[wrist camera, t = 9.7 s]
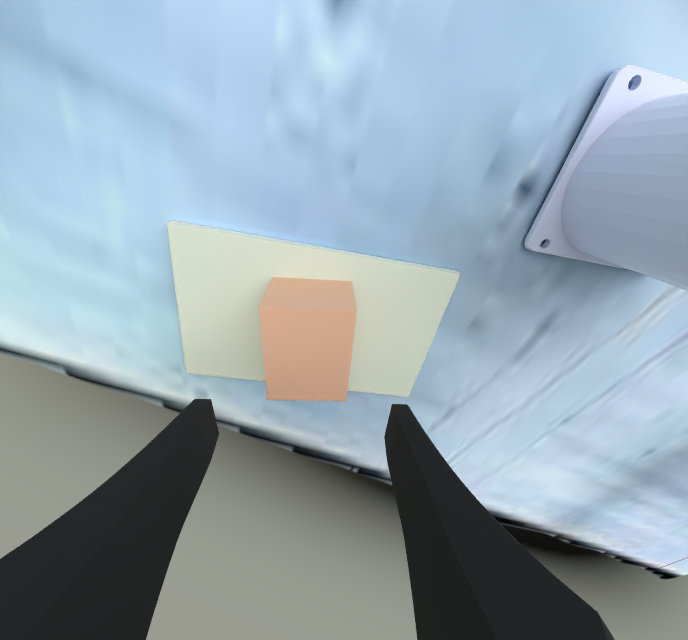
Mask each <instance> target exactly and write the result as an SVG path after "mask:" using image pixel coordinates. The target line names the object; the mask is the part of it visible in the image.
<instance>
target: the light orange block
mask: <svg viewBox="0 0 688 640" xmlns="http://www.w3.org/2000/svg"><path fill="white" fill-rule="evenodd" d="M356 313H357V308H356V302H355V297H354V291H353V285H352V281H338V280H320V279H302V278H283V277H272V279H271V281H270V283H269V285H268V287H267V290H266V292H265V294H264V296H263V298H262V300H261V302H260V304H259V314H260V325H261V336H262V347H263V358H264V369H265V380H266V391H267V400H308V401H347V393H348V384H349V375H350V366H351V357H352V348H353V340H354V331H355V322H356Z"/></svg>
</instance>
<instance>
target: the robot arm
mask: <svg viewBox="0 0 688 640" xmlns="http://www.w3.org/2000/svg"><path fill="white" fill-rule="evenodd" d="M631 79H632V80H633V83H632V86H631V88H630V89H628V84H629V81H630V80H631ZM543 240H545V243H544V244H543V245H542V246H540V245H541V242H542V241H543ZM524 246H525V247H526V248H527V249H529V250H531V251H535V252H541V253H546V254H551V255H556V256H561V257H566V258H571V259H577V260H582V261H587V262H592V263H597V264H602V265H607V266H612V267H618V268H623V269H628V270H633V271H635V272H638V273H641V274H644V275H646V276H649V277H652V278H654V279H657V280H660V281H663V282H665V283H668V284H671V285H674V286H676V287H679V288H682V289H684V290H687V291H688V82H685V81H682V80H679V79H676V78H673V77H669V76H666V75H663V74H660V73H657V72H653V71H650V70H647V69H644V68H641V67H637V66H634V65H626V66H622V67H620V68H618V69H616V70H615V71H614V72H612V73H611V75H610V76H609V78H608V79H607V81H606V83H605V85H604V87H603V89H602V91H601V93H600V95H599V97H598V99H597V101H596V103H595V105H594V107H593V109H592V110H591V112H590V114H589V116H588V118H587V120H586V122H585V124H584V126H583V128H582V130H581V132H580V134H579V136H578V138H577V140H576V142H575V144H574V145H573V147H572V149H571V151H570V153H569V155H568V157H567V159H566V161H565V163H564V165H563V167H562V169H561V171H560V173H559V175H558V177H557V178H556V180H555V182H554V184H553V186H552V188H551V190H550V192H549V194H548V196H547V198H546V200H545V202H544V204H543V206H542V208H541V210H540V212H539V213H538V215H537V217H536V219H535V221H534V223H533V225H532V227H531V229H530V231H529V233H528V235H527V237H526V239H525V242H524ZM218 435H219V432H218V427H217V423H216V419H215V414H214V410H213V406H212V402H211V399H194V400H193V401H192V402H191V403H190V404H189V405H188V406H187V407H186V408H185V409H184V410H183V411H182V412H181V413H180V414H179V415H178V416H177V417H176V418H175V419H174V420H173V421H172V422H171V423H170V424H169V425H168V426H167V427H166V428H165V429H164V430H163V431H161V433H159V434H158V435H157V436H156V437H155V438H154V439H153V440H152V441H151V442H150V443H149V444H148V445H147V446H146V447H145V448H144V449H142V450H141V451H140V452H139V453H138V454H137V455H136V456H135V457H133V458H132V459H131V460H130V461H129V462H128V463H127V464H125V465H124V466H123V467H122V468H121V469H120V470H119V471H118V472H116V473H115V474H114V475H113V476H112V477H110V478H109V479H108V480H107V481H106V482H104V483H103V484H102V485H101V486H100V487H98V488H97V489H96V490H95V491H93V492H92V493H91V494H90V495H88V496H87V497H86V498H85V499H83V500H82V501H81V502H79V503H78V504H77V505H76V506H74V507H73V508H72V509H70V510H69V511H68V512H66V513H65V514H64V515H62V516H61V517H60V518H58V519H57V520H55V521H54V522H53V523H52V524H50V525H48V526H47V527H46V528H44V529H43V530H42V531H40V532H39V533H38V534H36V535H35V536H33V537H32V538H31V539H29V540H28V541H26V542H25V543H23V544H22V545H20V546H19V547H17V548H16V549H14V550H13V551H11V552H10V553H9V554H7V555H5V556H4V557H3V558H1V559H0V640H146V637H147V634H148V630H149V627H150V623H151V620H152V617H153V613H154V610H155V607H156V604H157V601H158V597H159V594H160V591H161V588H162V585H163V582H164V579H165V575H166V572H167V569H168V566H169V563H170V560H171V557H172V554H173V552H174V549H175V545H176V542H177V540H178V537H179V534H180V532H181V529H182V527H183V524H184V522H185V519H186V517H187V515H188V513H189V510H190V508H191V506H192V504H193V501H194V499H195V496H196V494H197V492H198V490H199V487H200V485H201V483H202V480H203V478H204V476H205V473H206V471H207V468H208V466H209V464H210V461H211V458H212V455H213V452H214V449H215V446H216V442H217V438H218ZM384 437H385V446H386V454H387V462H388V467H389V471H390V476H391V480H392V485H393V489H394V493H395V498H396V502H397V506H398V511H399V515H400V519H401V524H402V529H403V534H404V540H405V547H406V554H407V561H408V567H409V575H410V582H411V590H412V597H413V605H414V614H415V622H416V630H417V639H418V640H614V638H613V636H612V634H611V633H610V631H609V630H608V628H607V627H606V625H605V623H604V622H603V620H602V619H601V617H600V616H599V614H598V612H597V611H595V610H594V609H593V608H592V607H591V606H589V605H588V604H587V603H586V602H585V601H583V600H582V599H581V598H580V597H579V596H578V595H576V594H575V593H574V592H573V591H572V590H571V589H569V588H568V587H567V586H566V585H565V584H563V583H562V582H561V581H560V580H559V579H558V578H556V577H555V576H554V575H553V574H552V573H551V572H549V570H547V569H546V568H545V567H544V566H543V565H542V564H541V563H540V562H539V561H538V560H537V559H535V558H534V557H533V556H532V555H531V554H530V553H529V552H528V551H527V550H526V549H525V548H524V547H523V546H522V545H521V544H520V543H519V542H518V541H517V540H516V539H515V538H514V537H513V536H511V534H510V533H509V532H508V531H507V530H506V529H505V528H503V526H502V525H501V524H500V523H499V522H498V521H497V520H496V519H495V518H494V517H493V516H492V515H491V514H490V513H489V512H488V511H487V510H486V509H485V508H484V506H483V505H482V504H481V503H480V502H479V501H478V500H477V499H476V498H475V496H474V495H473V494H472V493H471V492H470V491H469V490H468V488H467V487H466V486H465V485H464V484H463V482H462V481H461V480H460V479H459V477H458V476H457V475H456V474H455V472H454V471H453V470H452V469H451V467H450V466H449V465H448V463H447V462H446V461H445V459H444V458H443V457H442V455H441V454H440V453H439V451H438V450H437V449H436V447H435V446H434V444H433V443H432V442H431V440H430V439H429V437H428V436H427V434H426V433H425V431H424V430H423V428H422V427H421V425H420V424H419V422H418V421H417V419H416V417H415V416H414V414H413V413H412V411H411V410H410V408H409V406H408V405H405V404H392V407H391V411H390V415H389V419H388V424H387V428H386V432H385V436H384Z"/></svg>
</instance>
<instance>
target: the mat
mask: <svg viewBox="0 0 688 640" xmlns="http://www.w3.org/2000/svg"><path fill="white" fill-rule="evenodd" d="M167 228H168V236H169V244H170V252H171V260H172V268H173V275H174V283H175V291H176V299H177V307H178V315H179V322H180V330H181V338H182V346H183V354H184V362H185V369H186V373H192V374H201V375H210V376H219V377H229V378H238V379H247V380H256V381H266V380H265V369H264V358H263V347H262V336H261V325H260V314H259V304H260V302H261V300H262V298H263V296H264V294H265V292H266V290H267V287H268V285H269V283H270V281H271V279H272V277H283V278H302V279H320V280H338V281H352V285H353V291H354V297H355V302H356V308H357V313H356V322H355V331H354V340H353V348H352V357H351V366H350V375H349V384H348V390H349V391H358V392H367V393H376V394H385V395H395V396H404V397H409V395H410V392H411V390H412V388H413V385H414V383H415V381H416V378H417V376H418V374H419V371H420V369H421V367H422V364H423V362H424V359H425V357H426V355H427V352H428V350H429V348H430V345H431V343H432V341H433V338H434V336H435V334H436V331H437V329H438V327H439V324H440V322H441V319H442V317H443V315H444V312H445V310H446V308H447V305H448V303H449V301H450V298H451V296H452V294H453V291H454V289H455V287H456V284H457V282H458V280H459V277H460V275H461V274H460V273H459V272H458V271H456V270H450V269H445V268H439V267H433V266H428V265H422V264H416V263H411V262H405V261H399V260H394V259H388V258H382V257H377V256H371V255H365V254H360V253H354V252H349V251H343V250H337V249H332V248H326V247H320V246H315V245H309V244H303V243H298V242H292V241H286V240H281V239H275V238H269V237H264V236H258V235H252V234H247V233H241V232H235V231H230V230H224V229H218V228H213V227H207V226H201V225H196V224H190V223H184V222H179V221H170V222H167Z"/></svg>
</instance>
